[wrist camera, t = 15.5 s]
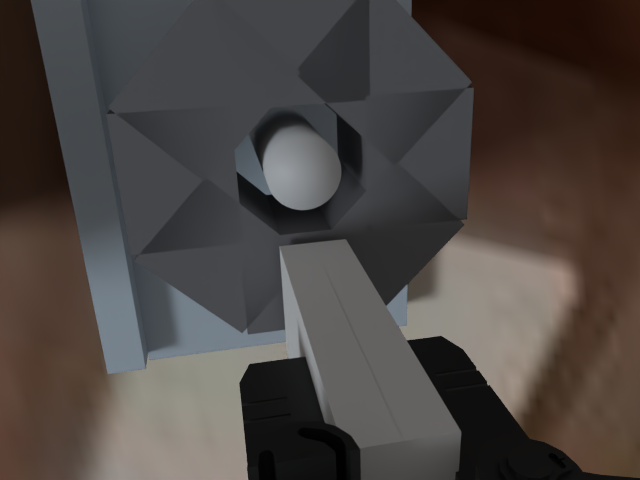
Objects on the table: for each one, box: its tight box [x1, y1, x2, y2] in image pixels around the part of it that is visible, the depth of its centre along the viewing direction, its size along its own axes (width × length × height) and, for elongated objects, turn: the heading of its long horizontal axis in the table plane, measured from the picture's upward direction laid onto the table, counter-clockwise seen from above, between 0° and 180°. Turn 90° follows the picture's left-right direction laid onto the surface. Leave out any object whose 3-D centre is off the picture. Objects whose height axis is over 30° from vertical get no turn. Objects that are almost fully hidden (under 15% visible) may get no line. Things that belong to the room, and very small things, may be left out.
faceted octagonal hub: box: [106, 0, 474, 335], centre depth 14 cm, size 8×8×3 cm
